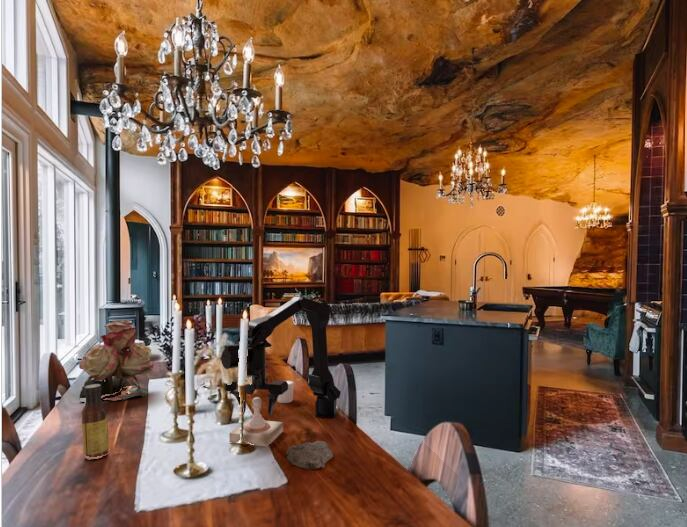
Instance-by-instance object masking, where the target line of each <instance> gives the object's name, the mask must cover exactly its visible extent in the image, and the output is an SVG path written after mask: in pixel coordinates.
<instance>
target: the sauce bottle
mask: <svg viewBox="0 0 687 527" xmlns="http://www.w3.org/2000/svg"><path fill="white" fill-rule="evenodd" d="M85 393H86V403H84V407H83V409H82V410H81V429H82V446H83V447H82V448H83V456H84V455H86V456H89V457H97V456H102V455H105V454H107V453H108V454H109V452H108V451H109V448H110V445H109V428H108V427H109V426H108V424H109V423H108V412H107V410H106V406H105V405H104V401H102V400H101V399H102V398H101V385H100V384H93V385H88V386H86V387H85Z"/></svg>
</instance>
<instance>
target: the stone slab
mask: <svg viewBox="0 0 687 527" xmlns="http://www.w3.org/2000/svg"><path fill="white" fill-rule="evenodd" d="M285 452H286V455H287V458H286V460H287V461H288V462H289V463H290V464H292V465H293V466H296V467H298V468H303V469H305V470H311V471H312V470H316V469H324V468H325V466H326V465H325V464H326V463H327V462H328V461H329V460H331V459H333V458H334V453H333V451H332V449H331V448H330V447H329V444H328V443H327V441H323V440H317V441H314V442H308V441H307V442H306V441H305V442H302V443H300V444H294V445H291V446H289V447H287V448H286V451H285ZM332 457H333V458H332Z"/></svg>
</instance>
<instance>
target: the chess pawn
mask: <svg viewBox="0 0 687 527" xmlns="http://www.w3.org/2000/svg"><path fill="white" fill-rule="evenodd" d="M251 404H252V406H251V408H252V409H253V415H252V416H251V417H252V418H250V419H251V420H250V421H249V428H250V429H262V428H264V427H265V421H266V420H265V419H264V417H262V416H263V415H262V414H261V411H260V409H262V399H261V398H260V397H258V396H255V397H253V398H252V400H251Z"/></svg>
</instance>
